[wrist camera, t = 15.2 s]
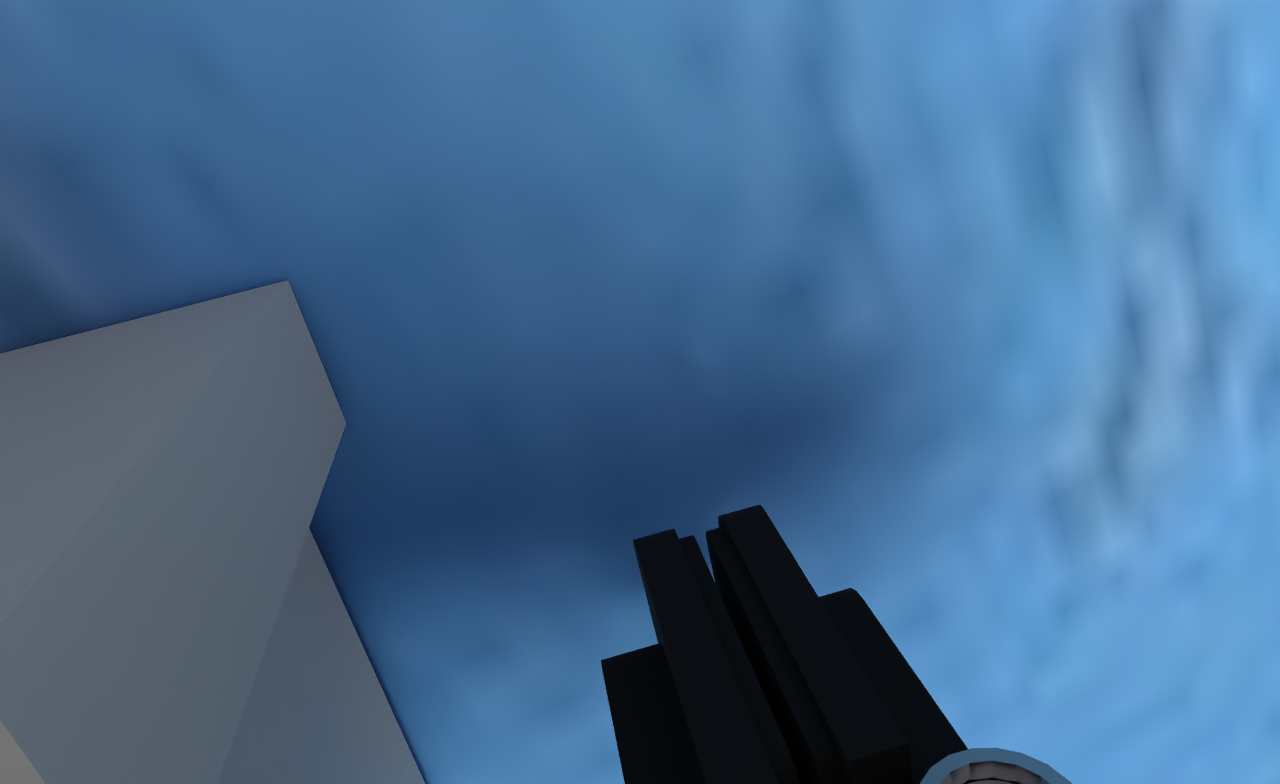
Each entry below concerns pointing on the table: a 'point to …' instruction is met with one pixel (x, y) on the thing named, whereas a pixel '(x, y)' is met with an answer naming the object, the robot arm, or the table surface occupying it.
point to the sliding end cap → (179, 560)
